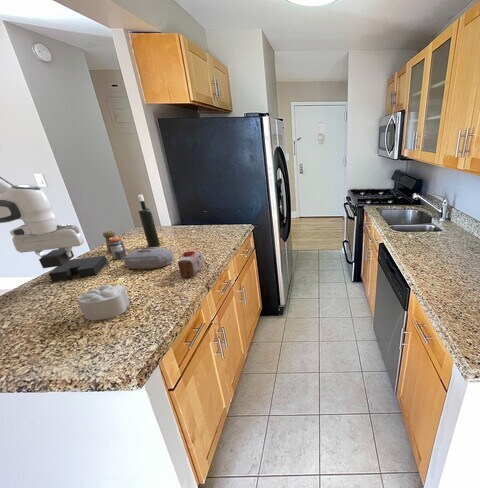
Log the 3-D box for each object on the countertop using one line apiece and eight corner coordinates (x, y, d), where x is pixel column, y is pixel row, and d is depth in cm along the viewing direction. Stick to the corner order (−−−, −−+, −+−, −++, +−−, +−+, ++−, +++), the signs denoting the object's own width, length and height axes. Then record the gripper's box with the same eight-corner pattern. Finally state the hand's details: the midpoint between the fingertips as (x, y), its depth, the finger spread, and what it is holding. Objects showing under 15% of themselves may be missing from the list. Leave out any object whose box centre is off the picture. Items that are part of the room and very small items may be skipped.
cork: (119, 246, 151) (114, 228, 147) (121, 249, 147) (115, 231, 143) (106, 249, 147) (100, 231, 143) (108, 252, 143) (101, 234, 139)
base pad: (52, 281, 114) (48, 273, 113) (68, 267, 126) (65, 260, 125) (96, 275, 119) (93, 267, 118) (107, 262, 132) (105, 255, 130)
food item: (189, 264, 129) (185, 246, 125) (206, 263, 130) (202, 245, 126) (179, 278, 116) (174, 258, 113) (197, 277, 118) (193, 257, 114)
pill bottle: (118, 255, 140) (111, 235, 135) (129, 254, 140) (123, 235, 136) (110, 260, 134) (103, 240, 130) (123, 259, 135) (116, 239, 130)
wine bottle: (153, 247, 149) (139, 196, 138) (146, 246, 151) (131, 195, 140) (162, 244, 154) (148, 194, 143) (155, 243, 156) (141, 193, 145)
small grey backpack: (122, 272, 122) (166, 270, 124) (116, 256, 119) (162, 254, 121) (140, 258, 136) (180, 256, 138) (136, 243, 133) (176, 242, 134)
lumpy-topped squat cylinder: (122, 315, 92) (114, 295, 89) (77, 323, 88) (67, 302, 85) (132, 299, 101) (125, 280, 98) (92, 306, 97) (84, 286, 94)
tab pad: (43, 268, 103) (38, 259, 101) (60, 255, 114) (57, 247, 113) (62, 265, 105) (58, 257, 103) (77, 253, 116) (74, 245, 115)
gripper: (79, 221, 108) (91, 251, 114) (15, 227, 102) (31, 259, 107) (72, 225, 103) (84, 257, 108) (3, 232, 96) (20, 265, 102)
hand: (57, 258), depth 108 cm, fingers closed on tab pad, 6 cm apart
